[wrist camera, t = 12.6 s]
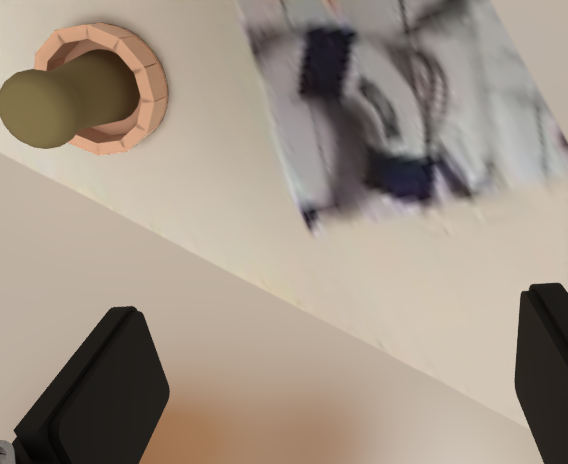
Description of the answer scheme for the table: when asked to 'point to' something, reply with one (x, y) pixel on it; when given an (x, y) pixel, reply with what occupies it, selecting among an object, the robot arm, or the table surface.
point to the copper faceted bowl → (139, 60)
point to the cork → (68, 98)
